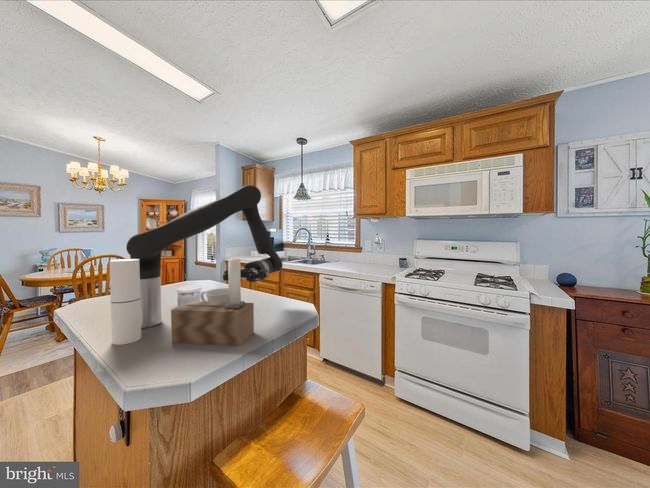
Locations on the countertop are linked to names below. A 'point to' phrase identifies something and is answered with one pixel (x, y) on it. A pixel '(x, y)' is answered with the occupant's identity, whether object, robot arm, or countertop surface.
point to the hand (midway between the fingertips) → (237, 277)
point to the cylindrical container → (125, 301)
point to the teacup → (216, 295)
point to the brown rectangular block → (212, 323)
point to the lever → (234, 284)
